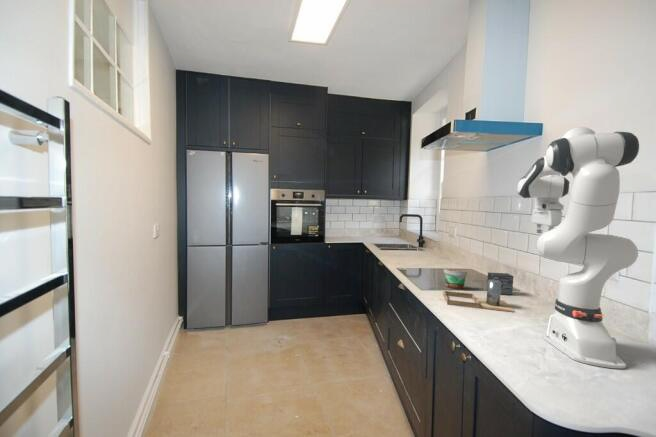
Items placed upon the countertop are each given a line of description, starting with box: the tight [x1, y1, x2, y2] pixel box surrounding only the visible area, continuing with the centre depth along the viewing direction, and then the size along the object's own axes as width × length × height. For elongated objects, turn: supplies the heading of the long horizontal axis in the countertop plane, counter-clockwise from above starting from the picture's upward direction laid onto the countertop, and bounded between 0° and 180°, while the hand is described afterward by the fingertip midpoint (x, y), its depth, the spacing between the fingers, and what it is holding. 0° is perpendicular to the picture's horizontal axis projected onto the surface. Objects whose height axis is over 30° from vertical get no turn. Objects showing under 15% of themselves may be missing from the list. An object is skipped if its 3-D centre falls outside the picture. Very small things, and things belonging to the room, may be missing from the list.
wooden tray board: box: [442, 290, 516, 313], centre depth 136 cm, size 14×28×2 cm, turn 76°
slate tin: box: [485, 280, 501, 306], centre depth 134 cm, size 6×6×11 cm
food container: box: [443, 268, 468, 291], centre depth 157 cm, size 12×6×10 cm, turn 71°
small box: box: [486, 272, 514, 296], centre depth 152 cm, size 11×6×10 cm, turn 84°
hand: (543, 234), depth 135 cm, fingers open, 8 cm apart
